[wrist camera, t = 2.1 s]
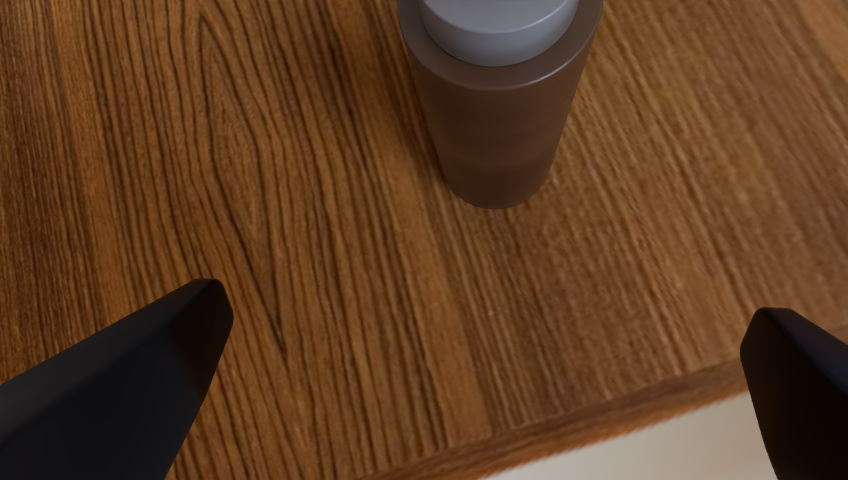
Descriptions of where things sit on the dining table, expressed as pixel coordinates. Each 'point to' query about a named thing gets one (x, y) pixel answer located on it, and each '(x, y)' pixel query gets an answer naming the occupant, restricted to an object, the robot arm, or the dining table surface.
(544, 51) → the pepper mill
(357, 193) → the dining table surface
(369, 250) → the dining table surface
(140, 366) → the robot arm
